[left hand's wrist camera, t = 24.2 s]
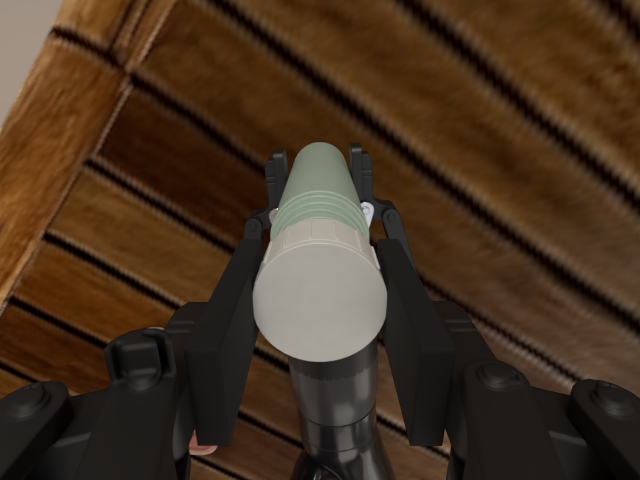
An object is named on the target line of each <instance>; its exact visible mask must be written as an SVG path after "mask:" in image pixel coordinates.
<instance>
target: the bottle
mask: <svg viewBox="0 0 640 480" xmlns="http://www.w3.org/2000/svg"><path fill="white" fill-rule="evenodd" d="M310 219H330V220H337V221H339V222H341V223H344V224H346V225H348V226H350V227H352V228H354V229H355V230H358V231H359V233H360V234H361V235H362V236H363V237H364V238H365V239H366V240H367V241H368V243H369V228H368V224H367V221H366V218H365V215H364V212H363V209H362V207H361V204H360V201H359V198H358V195H357V192H356V190H355V187H354V184H353V181H352V178H351V175H350V173H349V170H348V167H347V164H346V161H345V159H344V157H343V155H342V153H341V152H340V151H339V150H338V149H337V148H336V147H334V146H333V145H331V144H328V143H323V142H317V143H312V144H309V145H307V146H306V147H304V148H303V149H302V150H301V151H300V152H299V153H298V155H297V157H296V159H295V161H294V164H293V167H292V170H291V173H290V175H289V178H288V181H287V184H286V187H285V189H284V192H283V195H282V198H281V201H280V204H279V206H278V209H277V212H276V215H275V218H274V220H273V223H272V227H271V235H270V238H271V241H273V240H274V238H275V237H276V236H277V235H278V234H279V233H281V232H282V231H283V230H285V229H286V228H287V227H288V226H289V227H290V226H291V225H293V224H296V223H298V222H301V221H305V220H310Z"/></svg>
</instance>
